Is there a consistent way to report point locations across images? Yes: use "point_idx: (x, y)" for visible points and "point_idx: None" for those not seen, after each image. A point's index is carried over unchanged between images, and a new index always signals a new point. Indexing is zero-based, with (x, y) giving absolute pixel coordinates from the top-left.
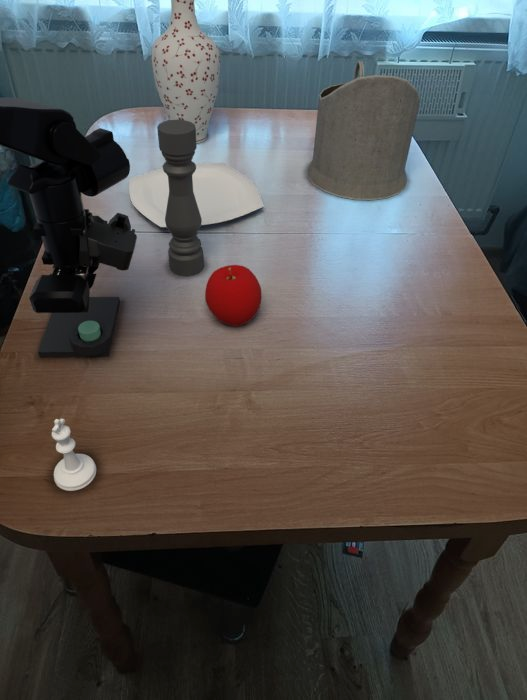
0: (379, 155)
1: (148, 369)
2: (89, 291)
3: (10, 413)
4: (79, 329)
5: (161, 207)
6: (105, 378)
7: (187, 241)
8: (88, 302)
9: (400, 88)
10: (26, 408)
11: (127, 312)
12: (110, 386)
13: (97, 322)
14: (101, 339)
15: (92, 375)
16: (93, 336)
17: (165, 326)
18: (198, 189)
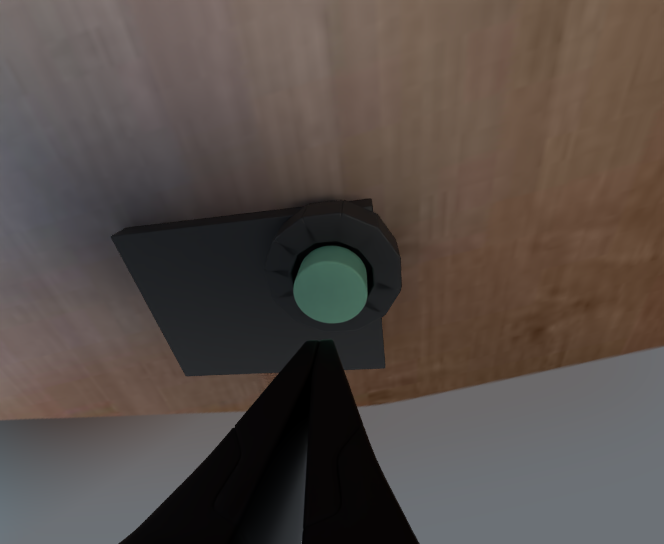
0: None
1: (432, 23)
2: (261, 406)
3: (561, 360)
4: (347, 318)
5: None
6: (468, 181)
7: None
8: (308, 367)
9: None
10: (553, 337)
11: (159, 194)
12: (508, 155)
13: (275, 271)
14: (360, 236)
15: (451, 223)
16: (359, 266)
17: (173, 16)
18: None
